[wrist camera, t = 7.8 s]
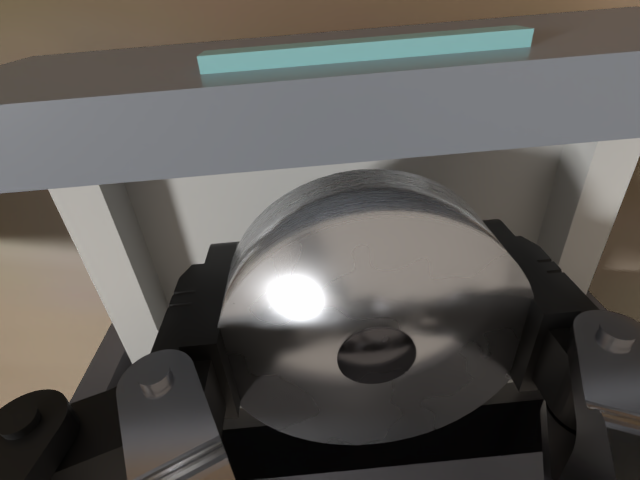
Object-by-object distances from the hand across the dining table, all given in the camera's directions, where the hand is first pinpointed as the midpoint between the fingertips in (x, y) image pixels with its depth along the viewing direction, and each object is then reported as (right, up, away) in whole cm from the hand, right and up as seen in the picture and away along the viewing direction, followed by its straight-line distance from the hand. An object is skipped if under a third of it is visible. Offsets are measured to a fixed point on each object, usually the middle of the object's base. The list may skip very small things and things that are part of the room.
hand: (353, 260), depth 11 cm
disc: (0, -1, -1) cm, 1 cm away
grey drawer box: (0, 0, +3) cm, 3 cm away
